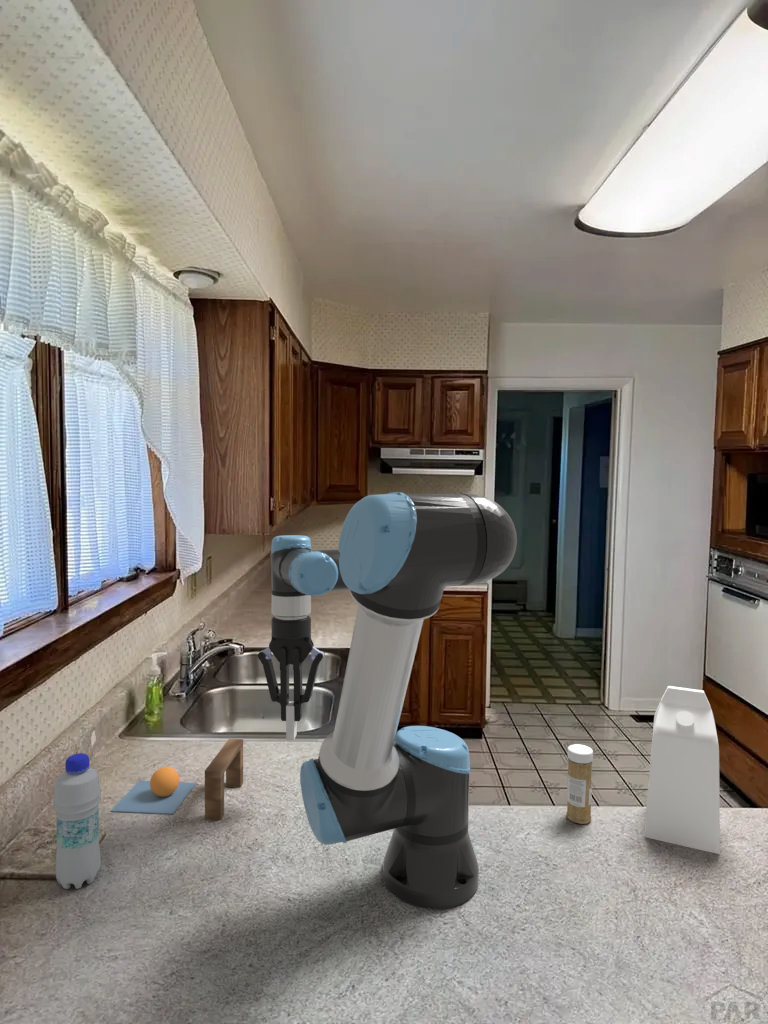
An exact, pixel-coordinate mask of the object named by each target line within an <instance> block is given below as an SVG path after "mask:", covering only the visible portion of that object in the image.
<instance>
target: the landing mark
mask: <svg viewBox="0 0 768 1024" xmlns="http://www.w3.org/2000/svg"><path fill="white" fill-rule="evenodd" d="M196 785H197V782H189V781H188V782H186V781H185V782H183V781H179V785H178V787H177V789H176V790H175V791H174V792H173V793H172V794H171V795H169V796H166V797H160V796H157V795H155V794H154V793H153V792H152V790H151V788H150V780H141V779H140V780H138V782H137V783H136V784H134V786H133V787H132V788H131V789H130V790H129V791H128V792H127V793H126V794H125V795H124V796H123V798H122V799H120V800H119V801H118V802H117V804H116V805H114V807H113V808H111V810H110V812H112V813H129V814H130V813H132V814H134V813H136V814H153V815H154V814H156V815H157V814H158V815H174V814H175V812H176V811H178V809H179V808H180V806H181V804H182V803H183V802H184V801H185V799H186V798H187V797H188V796H189V794H190V793H191V792H192V790H193V789H194V787H196Z"/></svg>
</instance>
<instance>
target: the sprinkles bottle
mask: <svg viewBox="0 0 768 1024" xmlns="http://www.w3.org/2000/svg"><path fill="white" fill-rule="evenodd" d="M593 760H594V751H593V749H592V748H591V747H589V746H587V745H585V744H579V743H578V744H577V743H575V744H570V745H569V746H568V747H567V761H568V762H567V763H568V764H567V767H568V768H567V785H566V787H567V789H566V800H567V801H566V802H567V805H566V818H567V819H568V820H569V821H571V822H572V823H575V824H579V825H583V824H584V825H585V824H586V825H587V824H589V823H590V822H591V821H592V809H591V808H592V795H593V794H592V792H593V791H592V790H593V789H592V788H593V787H592V784H593V783H592V773H593V771H592V769H593V767H592V766H593Z"/></svg>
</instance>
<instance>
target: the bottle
mask: <svg viewBox="0 0 768 1024" xmlns="http://www.w3.org/2000/svg"><path fill="white" fill-rule="evenodd" d="M64 765H65V771H64V772H62V773H61V774H59V775H58V776H57V777H56V779H55V783H54V784H55V786H54V792H53V799H52V802H53V805H54V806H53V811H54V812H55V814H56V817H55V819H56V855H55V856H56V857H55V877H56V878H55V879H56V882H57V883H58V884H60V885H61V887H62V888H63V889H65V890H69V889H70V888H71V885H74V888H75V889H78V890H79V889H81V888H82V886H83V883H84V882H85V881H86V884H87V885H89V884H91V883H93V882H94V881H95V878H96V876H97V875H98V874H99V872H100V869H101V849H100V847H101V846H100V840H99V839H100V837H99V835H100V832H99V831H100V830H99V829H100V828H99V824H100V823H99V820H100V819H99V818H100V817H99V815H100V814H99V813H100V812H99V809H100V808H99V805H100V803H101V800H102V799H101V795H102V788H101V783H100V777H99V772H98V770H97V769H95V768H93V767H90V756H89V755H88V754H86V753H82V752H80V753H79V752H78V753H74V754H71V755H69V756H68V757H67V758H66V760H65V764H64Z"/></svg>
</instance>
